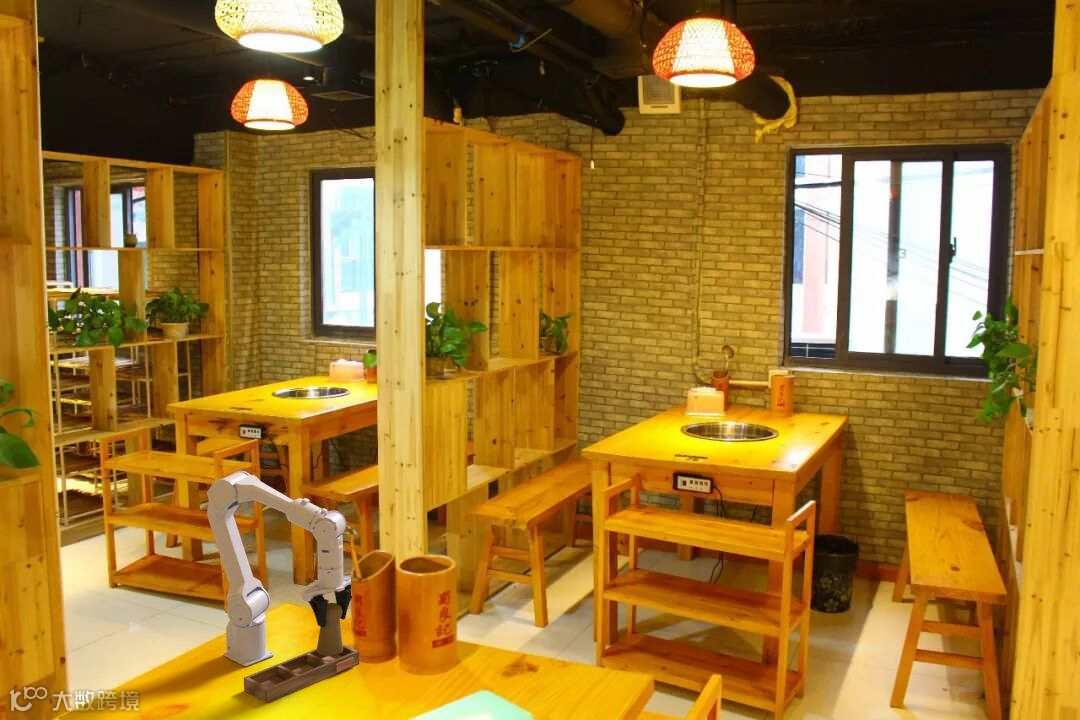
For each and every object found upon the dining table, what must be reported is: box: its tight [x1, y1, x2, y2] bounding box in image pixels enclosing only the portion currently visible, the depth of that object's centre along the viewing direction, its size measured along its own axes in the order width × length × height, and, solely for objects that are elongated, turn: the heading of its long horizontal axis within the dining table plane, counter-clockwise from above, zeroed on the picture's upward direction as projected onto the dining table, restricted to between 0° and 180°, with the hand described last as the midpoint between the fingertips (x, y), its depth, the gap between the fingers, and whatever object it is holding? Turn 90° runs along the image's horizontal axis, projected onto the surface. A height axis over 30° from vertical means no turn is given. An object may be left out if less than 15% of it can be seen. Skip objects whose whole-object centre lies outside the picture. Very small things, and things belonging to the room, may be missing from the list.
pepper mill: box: [316, 602, 344, 656], centre depth 210 cm, size 6×6×11 cm
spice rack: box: [243, 643, 360, 704], centre depth 204 cm, size 9×25×3 cm, turn 141°
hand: (331, 622), depth 210 cm, fingers closed on pepper mill, 5 cm apart
